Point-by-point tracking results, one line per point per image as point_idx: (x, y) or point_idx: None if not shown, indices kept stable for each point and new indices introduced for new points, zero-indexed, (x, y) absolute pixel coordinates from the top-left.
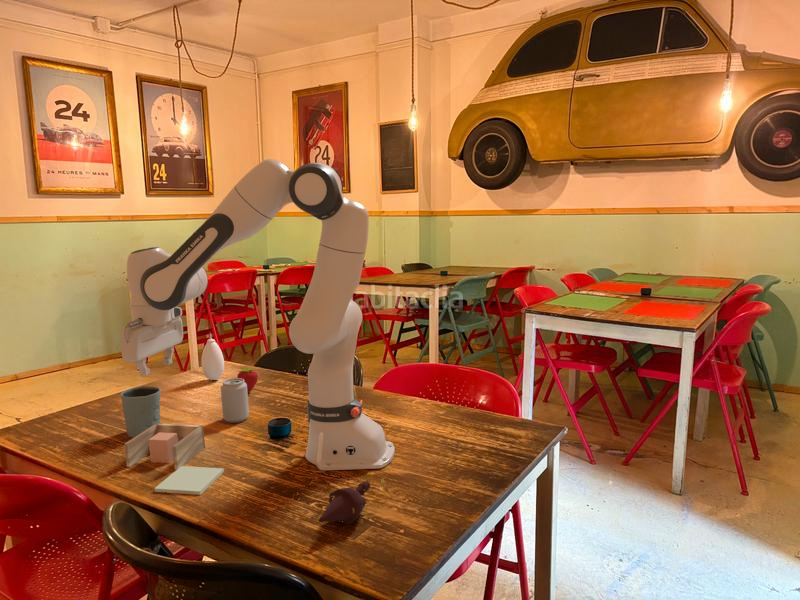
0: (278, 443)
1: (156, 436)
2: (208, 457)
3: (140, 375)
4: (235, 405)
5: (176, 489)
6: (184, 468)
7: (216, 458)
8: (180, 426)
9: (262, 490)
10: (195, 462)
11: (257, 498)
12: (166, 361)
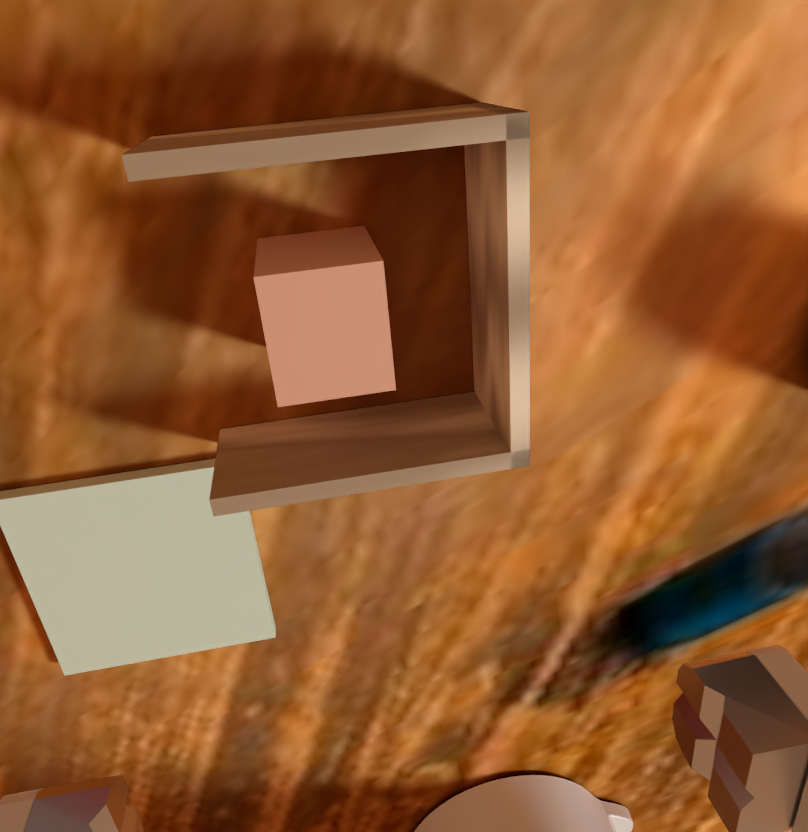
0: (570, 659)
1: (314, 294)
2: None
3: (2, 806)
4: None
5: (31, 590)
6: None
7: (384, 526)
8: (508, 331)
9: (190, 801)
10: None
11: None
12: (715, 756)
